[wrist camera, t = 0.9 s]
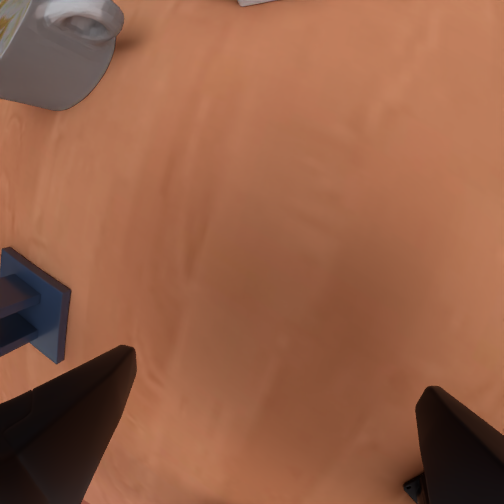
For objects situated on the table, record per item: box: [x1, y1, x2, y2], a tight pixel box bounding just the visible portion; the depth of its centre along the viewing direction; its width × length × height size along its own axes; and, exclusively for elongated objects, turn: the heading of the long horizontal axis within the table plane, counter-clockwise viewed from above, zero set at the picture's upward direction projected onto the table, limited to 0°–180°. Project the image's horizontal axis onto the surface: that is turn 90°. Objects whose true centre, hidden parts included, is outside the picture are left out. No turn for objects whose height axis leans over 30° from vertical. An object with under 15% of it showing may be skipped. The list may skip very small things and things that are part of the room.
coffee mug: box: [0, 0, 124, 111], centre depth 17 cm, size 13×10×10 cm
